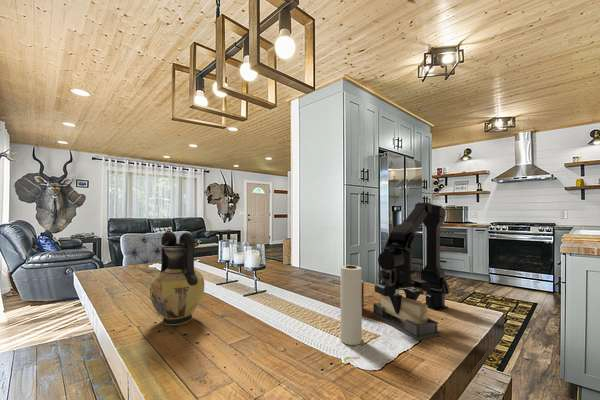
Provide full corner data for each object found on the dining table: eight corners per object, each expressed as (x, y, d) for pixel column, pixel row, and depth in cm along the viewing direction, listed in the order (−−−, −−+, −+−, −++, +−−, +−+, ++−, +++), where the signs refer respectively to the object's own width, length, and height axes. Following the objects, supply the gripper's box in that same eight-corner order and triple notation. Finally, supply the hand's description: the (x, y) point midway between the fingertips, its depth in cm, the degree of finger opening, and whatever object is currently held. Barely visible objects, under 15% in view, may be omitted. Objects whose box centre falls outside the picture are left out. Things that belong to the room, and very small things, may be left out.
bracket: (391, 311, 106) (391, 300, 106) (440, 336, 85) (439, 322, 85) (371, 314, 103) (371, 303, 103) (416, 340, 82) (416, 327, 82)
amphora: (136, 326, 91) (138, 232, 92) (175, 308, 107) (177, 229, 108) (179, 335, 85) (181, 234, 86) (214, 315, 101) (216, 230, 101)
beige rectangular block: (389, 308, 102) (389, 291, 102) (427, 324, 88) (427, 305, 88) (380, 310, 100) (380, 292, 100) (418, 326, 86) (418, 307, 86)
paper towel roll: (357, 348, 78) (357, 269, 78) (337, 342, 81) (337, 267, 81) (365, 337, 84) (365, 265, 84) (346, 333, 87) (347, 263, 88)
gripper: (407, 260, 105) (407, 302, 105) (364, 263, 99) (365, 308, 98) (431, 265, 95) (431, 312, 94) (385, 269, 88) (385, 320, 88)
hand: (402, 313), depth 94 cm, fingers closed on beige rectangular block, 4 cm apart
